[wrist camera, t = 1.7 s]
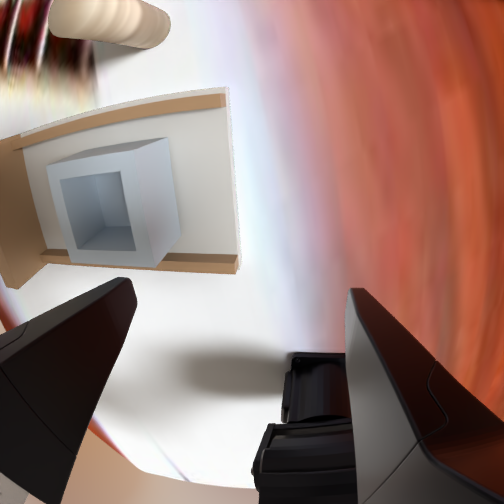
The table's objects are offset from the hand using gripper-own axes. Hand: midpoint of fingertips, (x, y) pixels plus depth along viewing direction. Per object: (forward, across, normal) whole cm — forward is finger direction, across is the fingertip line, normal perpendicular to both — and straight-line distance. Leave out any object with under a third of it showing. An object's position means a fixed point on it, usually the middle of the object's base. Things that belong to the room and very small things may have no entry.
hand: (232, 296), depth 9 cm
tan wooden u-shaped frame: (+12, +12, 0) cm, 17 cm away
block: (+11, +9, 0) cm, 14 cm away
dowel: (+12, +7, -11) cm, 18 cm away
